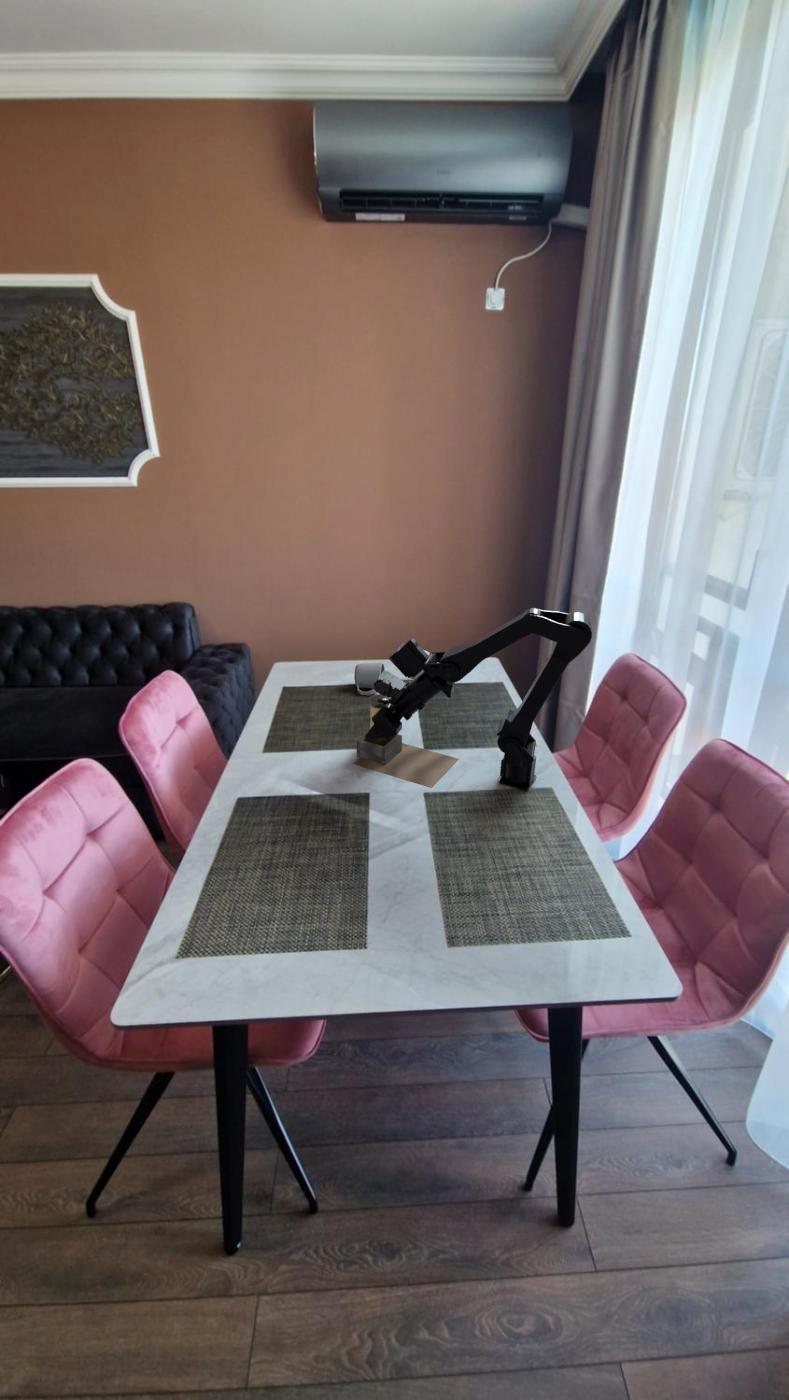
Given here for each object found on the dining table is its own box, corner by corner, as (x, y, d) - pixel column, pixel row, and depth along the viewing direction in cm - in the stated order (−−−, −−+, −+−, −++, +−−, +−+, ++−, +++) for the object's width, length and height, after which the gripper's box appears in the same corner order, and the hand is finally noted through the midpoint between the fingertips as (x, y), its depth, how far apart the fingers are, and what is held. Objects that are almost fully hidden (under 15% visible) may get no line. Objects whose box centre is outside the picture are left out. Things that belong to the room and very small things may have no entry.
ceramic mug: (358, 681, 184) (357, 657, 181) (385, 682, 183) (385, 659, 180) (351, 696, 174) (351, 671, 171) (380, 697, 173) (379, 673, 170)
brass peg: (393, 751, 141) (393, 696, 135) (383, 760, 137) (382, 704, 132) (376, 747, 143) (375, 692, 137) (365, 755, 140) (364, 699, 134)
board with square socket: (458, 764, 139) (460, 743, 137) (431, 793, 128) (432, 771, 125) (380, 742, 148) (380, 722, 146) (349, 768, 137) (348, 747, 135)
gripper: (409, 649, 138) (365, 687, 146) (380, 678, 122) (332, 719, 130) (442, 686, 139) (396, 722, 146) (417, 720, 123) (367, 758, 130)
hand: (373, 729), depth 138 cm, fingers open, 9 cm apart
